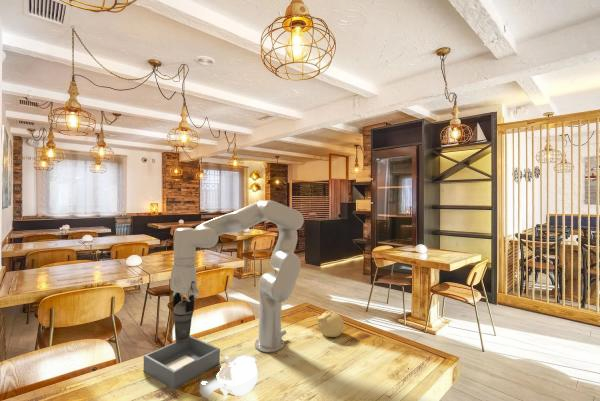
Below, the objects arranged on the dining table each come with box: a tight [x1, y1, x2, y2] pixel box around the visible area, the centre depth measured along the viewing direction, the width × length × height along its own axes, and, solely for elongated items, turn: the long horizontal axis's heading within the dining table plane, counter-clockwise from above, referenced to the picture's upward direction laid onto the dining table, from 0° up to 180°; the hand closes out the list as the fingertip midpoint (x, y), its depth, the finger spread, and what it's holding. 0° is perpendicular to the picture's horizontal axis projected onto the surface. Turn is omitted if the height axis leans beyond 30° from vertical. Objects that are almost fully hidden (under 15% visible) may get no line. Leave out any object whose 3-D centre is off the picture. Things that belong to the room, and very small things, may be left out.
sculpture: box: [316, 310, 345, 338], centre depth 151 cm, size 12×12×11 cm
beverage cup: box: [172, 294, 195, 345], centre depth 119 cm, size 7×7×20 cm
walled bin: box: [143, 335, 221, 391], centre depth 119 cm, size 20×18×6 cm
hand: (183, 308), depth 119 cm, fingers closed on beverage cup, 6 cm apart
